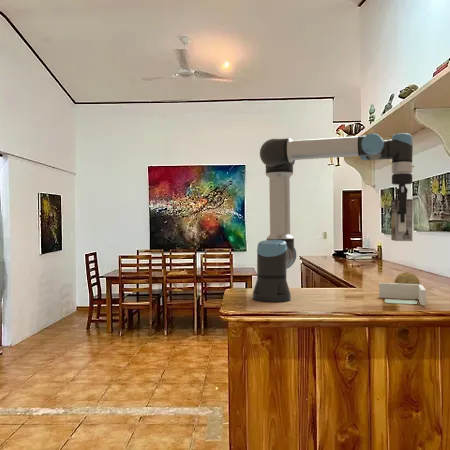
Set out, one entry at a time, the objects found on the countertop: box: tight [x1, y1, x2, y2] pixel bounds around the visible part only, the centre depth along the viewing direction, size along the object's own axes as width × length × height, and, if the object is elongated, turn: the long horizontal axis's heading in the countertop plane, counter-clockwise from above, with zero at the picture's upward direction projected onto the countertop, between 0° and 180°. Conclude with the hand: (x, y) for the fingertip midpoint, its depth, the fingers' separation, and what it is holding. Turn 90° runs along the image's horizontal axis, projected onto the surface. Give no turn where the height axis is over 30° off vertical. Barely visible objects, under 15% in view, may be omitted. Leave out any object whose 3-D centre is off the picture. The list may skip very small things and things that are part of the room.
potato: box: [394, 272, 421, 285], centre depth 206 cm, size 10×12×10 cm
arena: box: [378, 282, 427, 306], centre depth 190 cm, size 16×18×6 cm
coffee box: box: [390, 198, 414, 242], centre depth 188 cm, size 9×6×16 cm
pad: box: [384, 298, 418, 305], centre depth 188 cm, size 12×9×1 cm
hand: (401, 231), depth 188 cm, fingers closed on coffee box, 10 cm apart
